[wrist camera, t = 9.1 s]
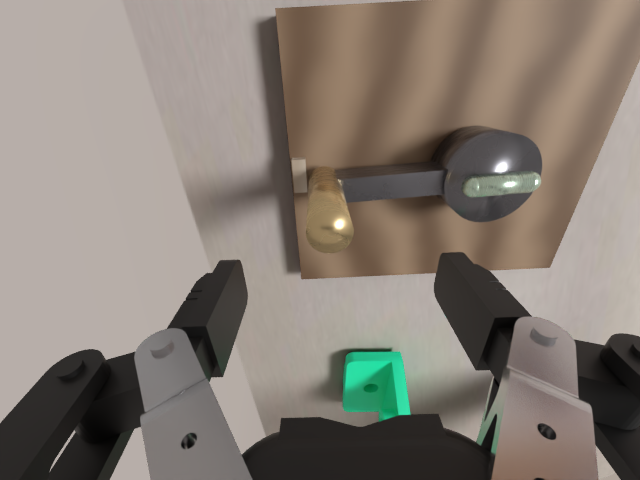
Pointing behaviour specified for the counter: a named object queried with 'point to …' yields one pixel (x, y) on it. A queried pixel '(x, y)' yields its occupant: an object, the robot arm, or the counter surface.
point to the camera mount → (375, 384)
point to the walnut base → (450, 115)
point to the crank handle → (430, 183)
